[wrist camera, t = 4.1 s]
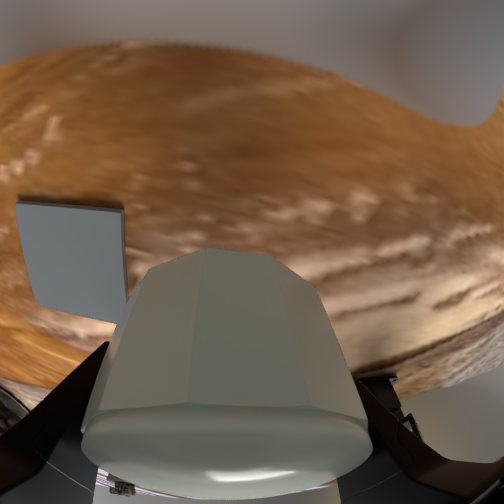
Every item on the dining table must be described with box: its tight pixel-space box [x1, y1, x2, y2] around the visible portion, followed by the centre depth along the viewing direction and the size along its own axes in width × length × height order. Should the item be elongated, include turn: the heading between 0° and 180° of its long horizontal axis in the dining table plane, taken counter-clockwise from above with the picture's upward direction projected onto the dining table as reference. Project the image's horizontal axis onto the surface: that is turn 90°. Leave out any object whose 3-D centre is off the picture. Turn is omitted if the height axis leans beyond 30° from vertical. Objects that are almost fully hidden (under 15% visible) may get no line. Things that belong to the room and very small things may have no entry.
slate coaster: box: [15, 201, 129, 324], centre depth 16 cm, size 9×9×1 cm
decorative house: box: [0, 389, 29, 435], centre depth 19 cm, size 21×15×25 cm
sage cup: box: [81, 248, 373, 500], centre depth 7 cm, size 7×7×6 cm
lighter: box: [107, 473, 140, 498], centre depth 29 cm, size 8×3×10 cm, turn 122°
